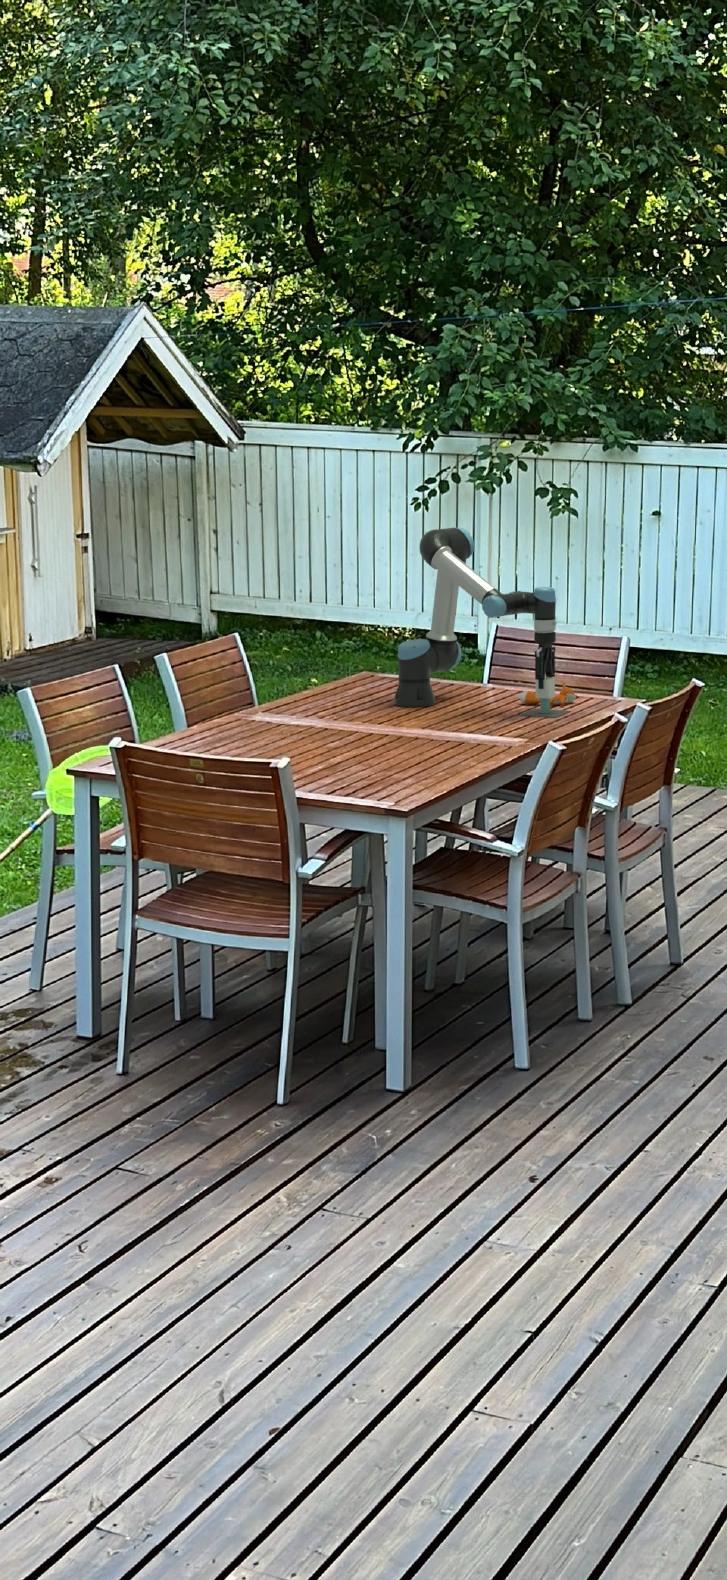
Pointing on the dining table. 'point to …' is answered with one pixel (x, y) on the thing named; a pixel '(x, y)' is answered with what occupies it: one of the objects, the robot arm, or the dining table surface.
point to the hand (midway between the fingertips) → (545, 696)
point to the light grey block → (547, 687)
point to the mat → (552, 713)
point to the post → (544, 705)
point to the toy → (563, 698)
